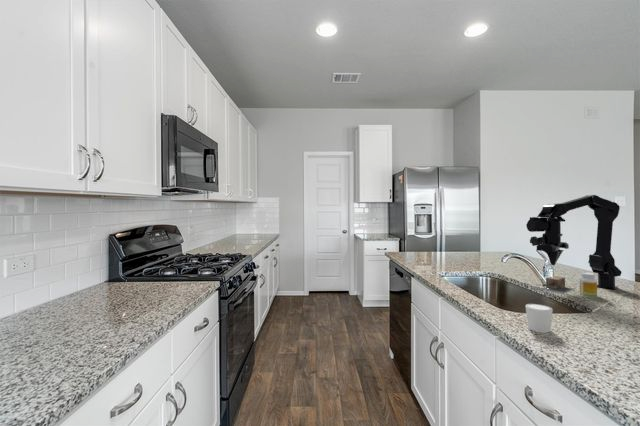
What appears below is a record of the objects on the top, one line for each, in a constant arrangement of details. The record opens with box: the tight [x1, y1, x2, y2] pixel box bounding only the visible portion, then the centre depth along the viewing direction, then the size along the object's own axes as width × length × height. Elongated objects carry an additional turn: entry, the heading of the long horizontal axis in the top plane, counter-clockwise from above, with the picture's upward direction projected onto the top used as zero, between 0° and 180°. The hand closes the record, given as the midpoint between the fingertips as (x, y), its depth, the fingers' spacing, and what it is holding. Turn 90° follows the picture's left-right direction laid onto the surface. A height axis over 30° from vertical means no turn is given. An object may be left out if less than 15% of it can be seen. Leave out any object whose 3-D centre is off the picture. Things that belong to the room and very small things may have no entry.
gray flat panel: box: [532, 285, 575, 295], centre depth 136 cm, size 14×12×1 cm
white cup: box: [525, 303, 554, 334], centre depth 92 cm, size 7×7×7 cm
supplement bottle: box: [579, 272, 598, 298], centre depth 124 cm, size 5×5×10 cm
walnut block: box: [545, 275, 566, 290], centre depth 138 cm, size 4×4×8 cm
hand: (553, 265), depth 136 cm, fingers closed
